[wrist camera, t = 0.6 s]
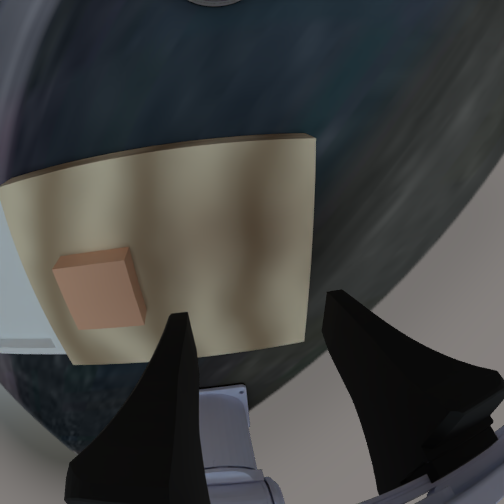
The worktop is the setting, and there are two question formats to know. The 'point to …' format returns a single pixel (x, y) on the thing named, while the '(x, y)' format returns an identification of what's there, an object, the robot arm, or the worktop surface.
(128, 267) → the terracotta tile
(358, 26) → the worktop surface
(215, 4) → the pill bottle
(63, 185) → the chopping board
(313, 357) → the worktop surface
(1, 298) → the tray
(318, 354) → the worktop surface
